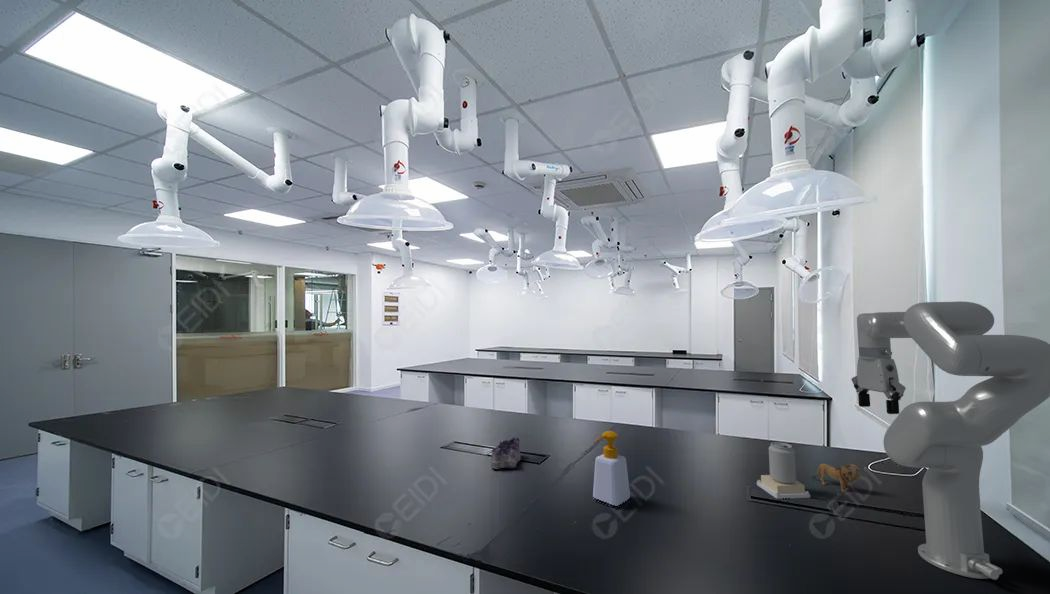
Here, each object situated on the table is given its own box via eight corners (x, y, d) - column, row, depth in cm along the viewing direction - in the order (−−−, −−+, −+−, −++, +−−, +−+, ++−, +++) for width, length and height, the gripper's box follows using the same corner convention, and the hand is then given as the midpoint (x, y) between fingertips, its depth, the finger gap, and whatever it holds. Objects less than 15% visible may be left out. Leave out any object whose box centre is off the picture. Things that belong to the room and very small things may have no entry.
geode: (499, 454, 180) (502, 431, 180) (524, 459, 177) (527, 436, 178) (485, 469, 160) (488, 443, 160) (513, 475, 157) (516, 449, 158)
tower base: (810, 498, 131) (809, 486, 132) (776, 498, 131) (776, 487, 131) (787, 484, 142) (787, 473, 143) (756, 484, 142) (756, 474, 142)
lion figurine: (864, 492, 135) (862, 464, 135) (857, 496, 132) (856, 468, 133) (815, 477, 148) (813, 452, 148) (807, 481, 145) (806, 455, 145)
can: (796, 486, 131) (794, 449, 132) (770, 482, 135) (768, 445, 136) (795, 478, 138) (793, 443, 138) (770, 474, 142) (768, 439, 142)
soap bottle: (583, 504, 129) (581, 434, 130) (607, 491, 139) (605, 425, 140) (608, 514, 123) (606, 440, 124) (632, 499, 132) (630, 430, 134)
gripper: (914, 355, 115) (918, 416, 114) (862, 351, 132) (866, 403, 131) (888, 356, 115) (892, 417, 114) (840, 351, 132) (843, 404, 131)
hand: (878, 409), depth 123 cm, fingers open, 9 cm apart
